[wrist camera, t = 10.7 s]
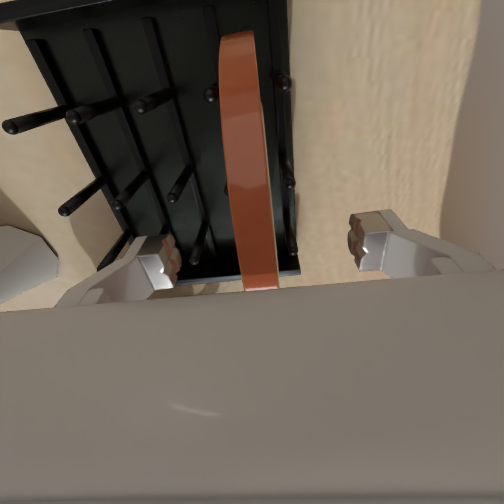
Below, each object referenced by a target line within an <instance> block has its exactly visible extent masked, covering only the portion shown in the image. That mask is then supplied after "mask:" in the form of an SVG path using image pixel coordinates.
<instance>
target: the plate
mask: <svg viewBox="0 0 504 504" xmlns="http://www.w3.org/2000/svg"><path fill="white" fill-rule="evenodd" d="M218 73H219V100H220V117H221V129H222V141H223V151H224V161H225V170H226V179H227V187H228V195H229V203H230V210H231V217H232V224H233V231H234V237H235V243H236V249H237V255H238V261H239V267H240V272H241V277H242V282H243V287H244V291H254V290H266V289H278V288H279V269H278V258H277V248H276V238H275V227H274V217H273V207H272V197H271V187H270V176H269V166H268V156H267V146H266V136H265V126H264V116H263V106H262V102H261V96H260V86H259V76H258V66H257V57H256V47H255V37H254V31H253V30H249V31H243V32H237V33H232V34H226V35H223V36H222V38H221V40H220V47H219V63H218Z"/></svg>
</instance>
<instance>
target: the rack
mask: <svg viewBox="0 0 504 504" xmlns="http://www.w3.org/2000/svg"><path fill="white" fill-rule="evenodd" d="M0 29H3V30H14V31H20V33H21V35H22V37H23V39H24V41H25V43H26V45H27V47H28V49H29V51H30V52H31V54H32V56H33V58H34V60H35V62H36V64H37V66H38V68H39V70H40V72H41V74H42V76H43V78H44V79H45V81H46V83H47V85H48V87H49V89H50V91H51V93H52V95H53V97H54V99H55V101H56V103H57V105H58V107H54V108H50V109H46V110H43V111H39V112H35V113H31V114H27V115H24V116H20V117H16V118H12V119H8V120H5V121H3V123H2V128H3V129H4V131H6V132H7V133H9V134H13V135H15V134H18V133H21V132H24V131H27V130H30V129H33V128H36V127H39V126H42V125H45V124H48V123H51V122H54V121H57V120H60V119H63V118H65V120H66V122H67V124H68V126H69V128H70V130H71V132H72V134H73V136H74V137H75V139H76V141H77V143H78V145H79V147H80V149H81V151H82V153H83V155H84V157H85V159H86V161H87V163H88V165H89V166H90V168H91V170H92V172H93V174H94V176H95V178H96V179H95V180H94V181H93V182H91V183H90V184H89V185H87V186H86V187H85V188H84V189H82V190H81V191H80V192H78V193H77V194H76V195H75V196H73V197H72V198H71V199H69V200H68V201H67V202H66V203H64V204H63V205H62V206H60V207H59V209H58V212H59V214H60V215H61V216H69V215H70V214H72V213H73V212H74V211H75V210H76V209H77V208H79V207H80V206H81V205H82V204H83V203H84V202H85V201H87V200H88V199H89V198H90V197H91V196H92V195H94V194H95V193H96V192H97V191H98V190H99V189H101V190H102V192H103V193H104V195H105V197H106V199H107V201H108V203H109V205H110V207H111V209H112V211H113V213H114V215H115V217H116V219H117V221H118V222H119V224H120V226H121V228H122V230H123V234H122V235H121V236H120V238H119V239H118V240H117V242H116V243H115V244H114V246H113V247H112V248H111V250H110V251H109V252H108V254H107V255H106V256H105V258H104V259H103V260H102V262H101V263H100V264H99V266H98V267H97V271H100V270H102V269H103V268H105V267H106V266H108V265H110V264H111V263H113V262H114V260H115V259H116V257H117V256H118V254H119V253H120V252H121V250H122V249H123V247H124V246H125V244H126V243H127V241H128V242H129V244H130V246H131V245H132V243H133V242H134V240H135V239H136V237H141V236H150V235H161V234H172V235H173V236H174V239H175V241H176V243H175V245H174V247H176V248H177V249H178V250H179V252H180V254H181V259H182V261H181V268H180V270H179V271H178V272H177V273H176V275H177V280H176V282H175V285H174V286H180V285H191V284H203V283H214V282H225V281H236V280H242V277H241V272H240V267H239V261H238V255H237V249H236V243H235V237H234V231H233V224H232V217H231V210H230V203H229V195H228V187H227V179H226V170H225V161H224V151H223V141H222V129H221V117H220V100H219V73H218V63H219V47H220V40H221V38H222V36H223V35H226V34H232V33H237V32H243V31H249V30H253V31H254V37H255V47H256V57H257V66H258V76H259V86H260V96H261V102H262V106H263V116H264V126H265V136H266V146H267V156H268V166H269V176H270V187H271V197H272V207H273V217H274V227H275V238H276V248H277V258H278V269H279V277H281V276H292V275H300V274H301V270H300V264H299V260H298V255H297V253H298V247H297V243H296V221H295V196H294V187H295V185H296V182H295V178H294V171H293V146H292V120H291V95H290V89H291V87H292V80H291V78H290V70H289V45H288V19H287V0H13V1H9V2H4V3H0Z"/></svg>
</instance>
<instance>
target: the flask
mask: <svg viewBox="0 0 504 504" xmlns="http://www.w3.org/2000/svg"><path fill="white" fill-rule="evenodd" d="M57 267H58V258H57V257H56V256H55V254H54V253H53V252H52V251H51V249H50V248H49V247H48V246H47V244H46V243H45V242H44V241H43V239H42V238H41V237H39V236H37V235H34V234H31V233H28V232H25V231H22V230H20V229H17V228H14V227H11V226H8V225H7V226H1V227H0V304H1V303H3V302H5V301H7V300H9V299H11V298H13V297H15V296H17V295H19V294H21V293H23V292H25V291H27V290H29V289H31V288H34V287H36V286H38V285H40V284H42V283H44V282H47V281H49V280H51V279H53V278H55V277H57Z"/></svg>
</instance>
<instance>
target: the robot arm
mask: <svg viewBox="0 0 504 504" xmlns="http://www.w3.org/2000/svg"><path fill="white" fill-rule="evenodd" d="M349 224H350V226H351V228H352V229H351V230H350V231H349V232H348V247H349V250H350V253H351V254H352V255H354V256H355V259H354V261H355V263H356V265H357V267H358V269H359V271H372V270H381V271H382V272H384V273H385V274H387V275H388V276H390V277H391V278H392V279H383V280H371V281H359V282H348V283H336V284H324V285H313V286H301V287H289V288H278V289H266V290H254V291H242V292H231V293H219V294H207V295H195V296H184V297H172V298H160V299H148V300H146V299H147V298H148V297H149V296H150V295H151V294H152V293H153V292H154V291H155V290H159V289H167V288H174V285H175V282H176V280H177V275H176V273H177V272H178V271H179V270H180V268H181V261H182V259H181V254H180V252H179V250H178V249H177V248H176V247H174V245H175V243H176V241H175V239H174V236H173V235H172V234H161V235H150V236H141V237H136V239H135V240H134V242H133V243H132V245H131V246H130V248H129V249H128V251H127V252H126V254H125V255H124V257H123V258H122V259H118V260H116V261H115V262H113V263H111V264H110V265H108V266H106V267H105V268H103V269H102V270H100V271H98V272H97V273H95V274H93V275H92V276H90V277H88V278H87V279H85V280H84V281H82V282H80V283H79V284H77V285H75V286H74V287H72V288H71V289H69V290H67V291H66V293H65V294H64V295H63V296H62V298H61V299H60V300H59V301H58V303H57V304H56V305H55V306H54V308H43V309H31V310H19V311H7V312H0V504H504V269H502V270H497V269H496V268H495V267H494V266H493V265H491V264H490V263H489V262H488V261H487V260H486V259H485V258H484V257H483V256H481V255H480V254H479V253H477V252H474V251H472V250H469V249H466V248H463V247H460V246H458V245H455V244H452V243H449V242H447V241H444V240H441V239H439V238H436V237H433V236H430V235H428V234H425V233H422V232H420V231H417V230H414V229H408V228H407V227H406V226H405V225H404V223H403V222H402V221H401V220H400V219H399V218H398V217H397V216H396V214H395V213H394V212H393V211H392V210H390V209H386V210H380V211H372V212H364V213H357V214H351V216H350V220H349Z"/></svg>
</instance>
